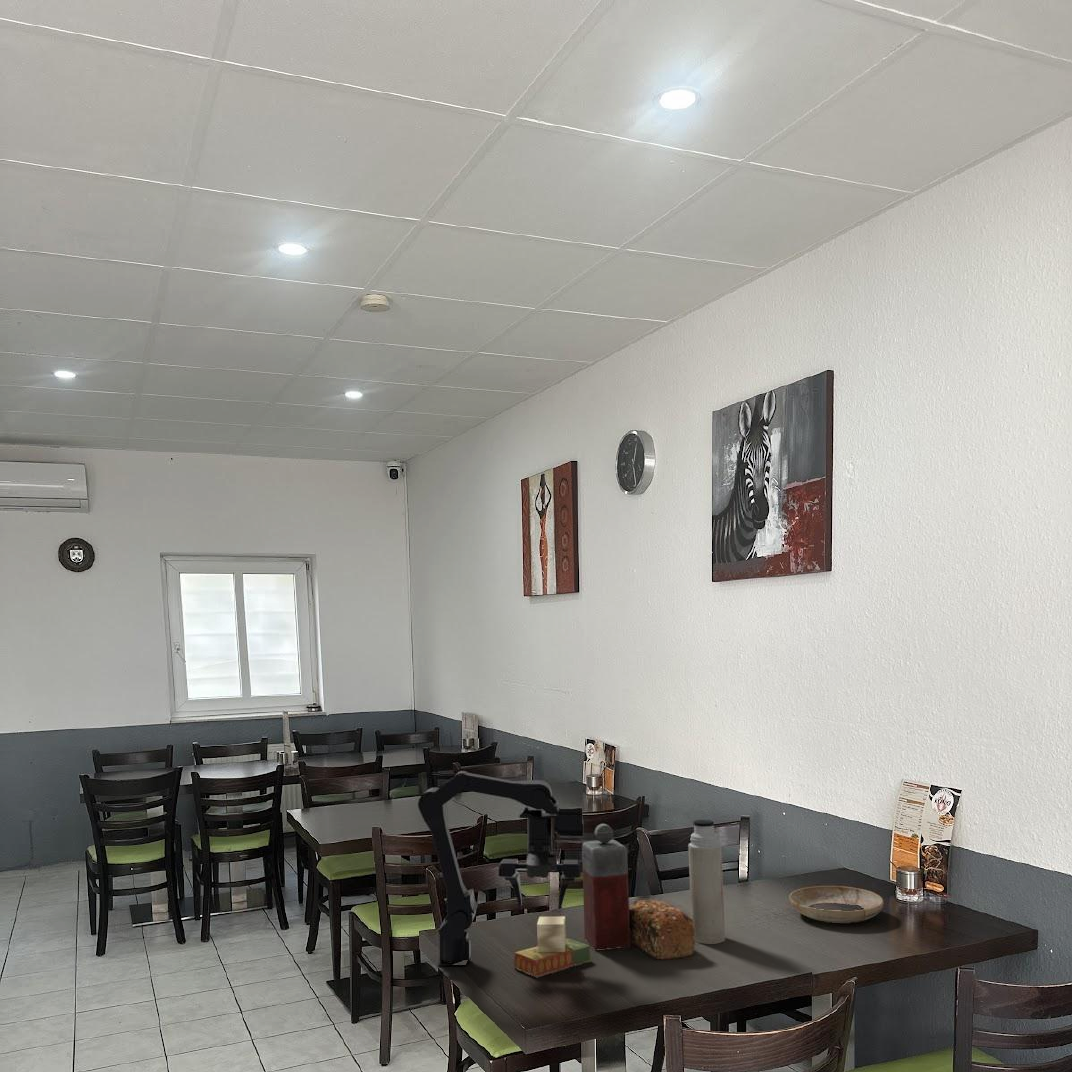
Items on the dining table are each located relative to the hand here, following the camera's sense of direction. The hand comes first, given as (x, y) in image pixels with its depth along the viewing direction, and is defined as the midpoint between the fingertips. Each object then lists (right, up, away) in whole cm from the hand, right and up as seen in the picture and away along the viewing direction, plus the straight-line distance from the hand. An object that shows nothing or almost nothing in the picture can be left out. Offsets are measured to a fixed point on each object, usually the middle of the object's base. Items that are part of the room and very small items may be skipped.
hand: (540, 906), depth 218 cm
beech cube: (+3, -8, -3) cm, 9 cm away
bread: (+28, -13, +7) cm, 32 cm away
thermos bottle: (+41, -13, +12) cm, 45 cm away
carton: (+3, -13, -4) cm, 13 cm away
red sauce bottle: (+16, -13, +11) cm, 24 cm away
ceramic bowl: (+77, -14, +27) cm, 83 cm away
